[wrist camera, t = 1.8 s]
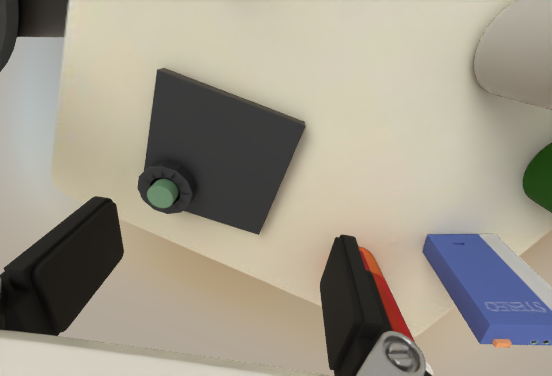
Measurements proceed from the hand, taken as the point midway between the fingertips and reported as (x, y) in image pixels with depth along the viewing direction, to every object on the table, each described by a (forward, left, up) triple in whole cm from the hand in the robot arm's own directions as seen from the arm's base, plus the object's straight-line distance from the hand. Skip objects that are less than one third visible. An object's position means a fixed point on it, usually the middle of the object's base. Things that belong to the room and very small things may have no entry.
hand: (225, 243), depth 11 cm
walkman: (+27, -5, -18) cm, 32 cm away
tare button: (-7, -9, -15) cm, 19 cm away
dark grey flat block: (-3, -5, -17) cm, 18 cm away
